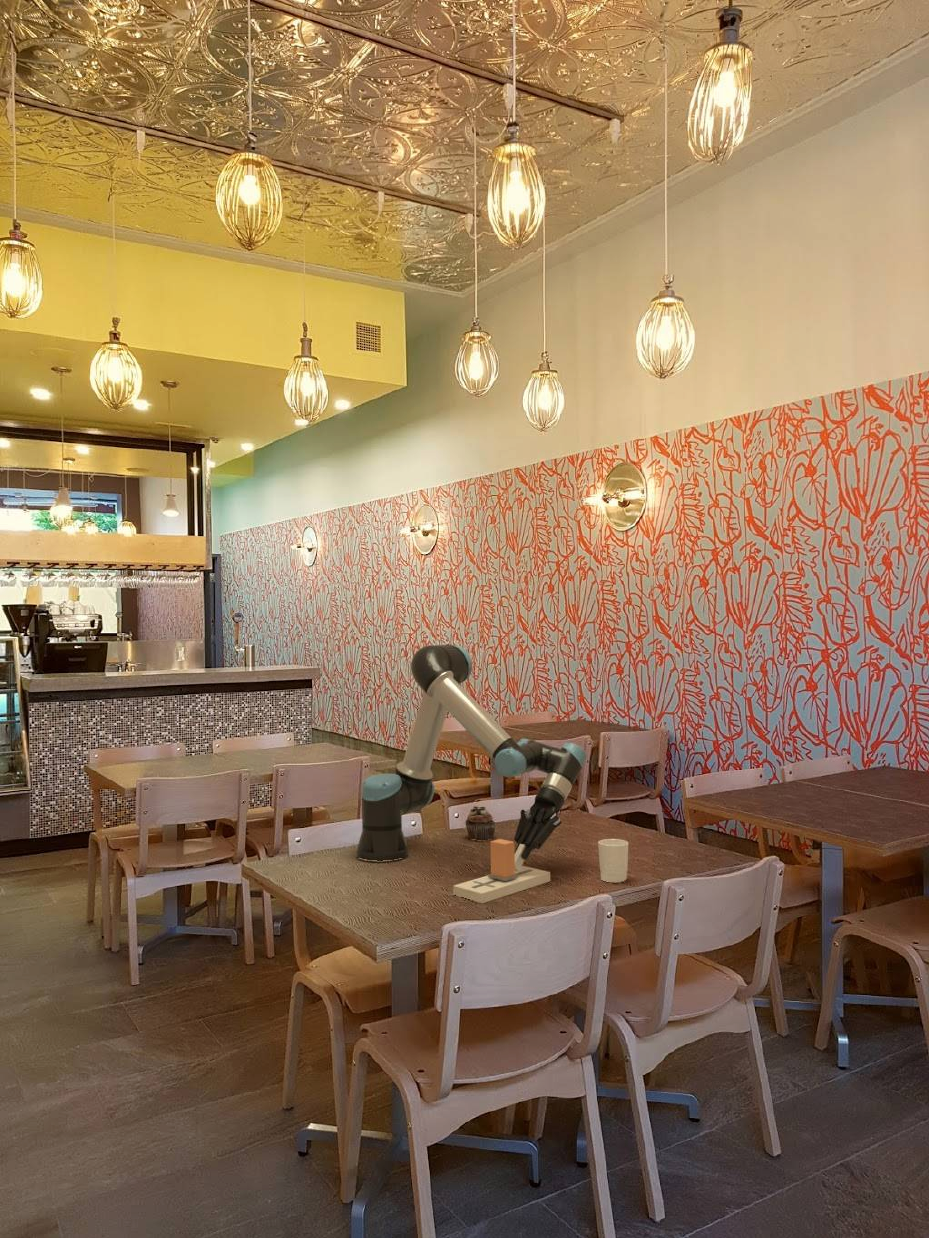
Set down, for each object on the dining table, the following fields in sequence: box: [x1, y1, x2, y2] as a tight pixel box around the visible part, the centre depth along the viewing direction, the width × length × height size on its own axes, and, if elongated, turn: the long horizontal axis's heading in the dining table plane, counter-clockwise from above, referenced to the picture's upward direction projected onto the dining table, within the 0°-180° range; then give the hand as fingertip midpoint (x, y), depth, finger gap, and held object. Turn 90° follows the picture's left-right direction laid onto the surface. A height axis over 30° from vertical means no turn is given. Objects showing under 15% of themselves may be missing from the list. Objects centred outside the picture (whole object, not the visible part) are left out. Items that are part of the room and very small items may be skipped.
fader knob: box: [487, 838, 518, 881], centre depth 231 cm, size 5×6×9 cm
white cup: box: [597, 838, 629, 883], centre depth 237 cm, size 8×8×10 cm
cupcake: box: [465, 805, 497, 840], centre depth 287 cm, size 10×10×10 cm
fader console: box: [452, 865, 551, 904], centre depth 231 cm, size 26×10×2 cm, turn 135°
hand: (513, 868), depth 233 cm, fingers closed
